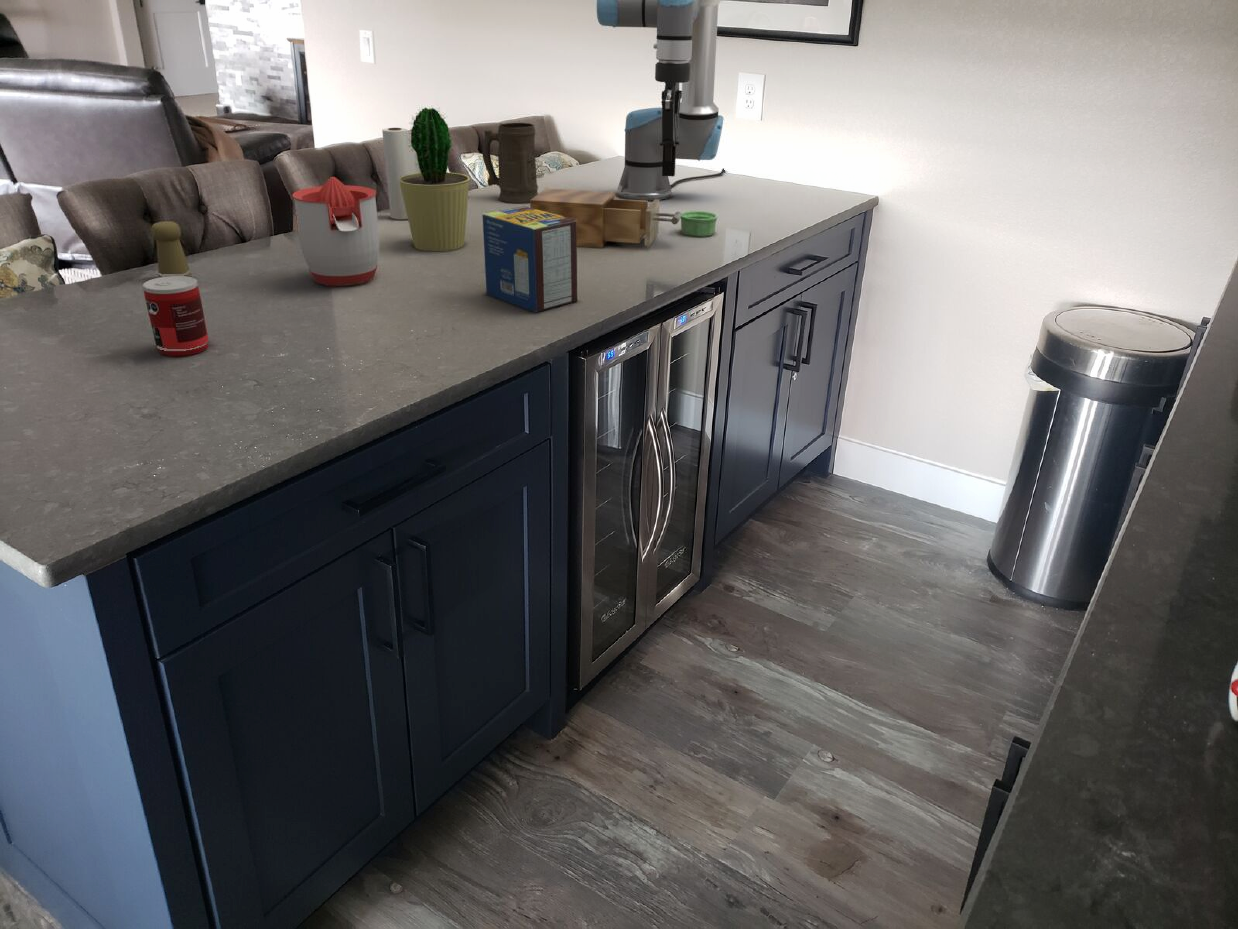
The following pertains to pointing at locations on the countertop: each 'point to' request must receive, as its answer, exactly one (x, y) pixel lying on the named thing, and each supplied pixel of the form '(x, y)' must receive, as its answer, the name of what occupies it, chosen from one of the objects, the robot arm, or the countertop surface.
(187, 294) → the canned food
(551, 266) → the protein box
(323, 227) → the citrus juicer
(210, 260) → the countertop surface
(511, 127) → the beer stein
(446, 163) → the potted cactus
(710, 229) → the ramekin
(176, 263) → the cork
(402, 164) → the paper towel roll
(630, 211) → the wooden drawer
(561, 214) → the cabinet
